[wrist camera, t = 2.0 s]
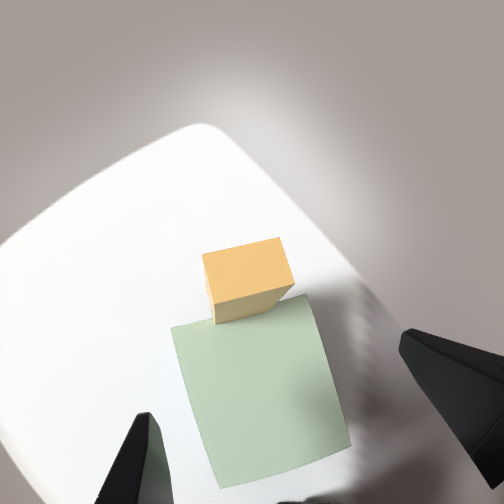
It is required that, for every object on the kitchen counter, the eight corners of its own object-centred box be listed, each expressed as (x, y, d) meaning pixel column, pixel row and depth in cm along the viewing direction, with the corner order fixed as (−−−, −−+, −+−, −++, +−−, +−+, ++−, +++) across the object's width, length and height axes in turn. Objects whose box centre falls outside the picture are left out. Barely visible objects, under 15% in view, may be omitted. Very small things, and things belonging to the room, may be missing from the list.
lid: (342, 440, 16) (407, 473, 9) (219, 480, 15) (222, 543, 7) (292, 276, 20) (334, 225, 13) (168, 306, 18) (137, 269, 11)
